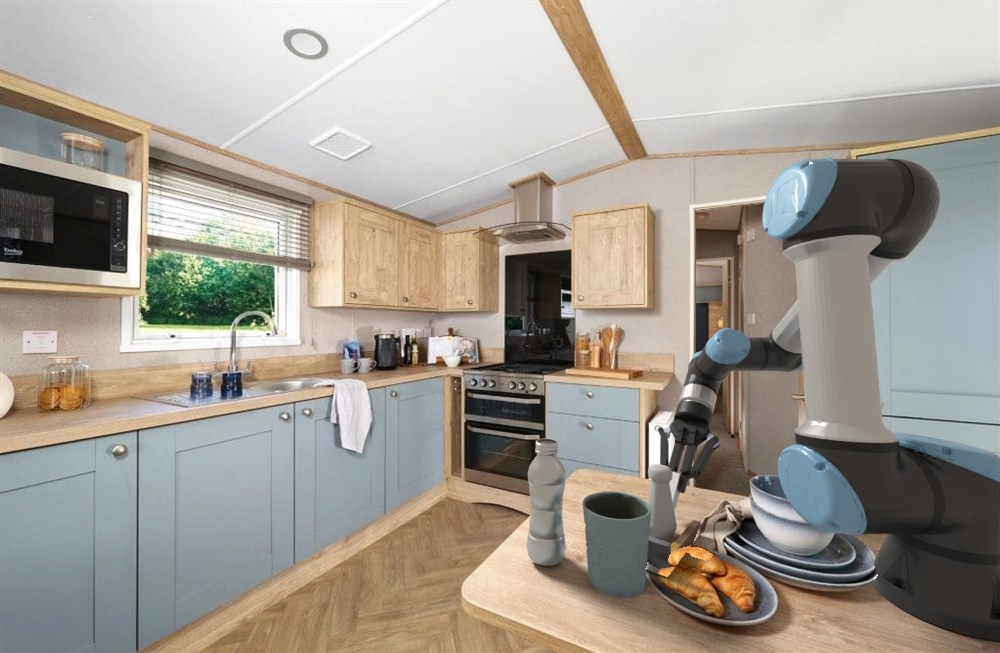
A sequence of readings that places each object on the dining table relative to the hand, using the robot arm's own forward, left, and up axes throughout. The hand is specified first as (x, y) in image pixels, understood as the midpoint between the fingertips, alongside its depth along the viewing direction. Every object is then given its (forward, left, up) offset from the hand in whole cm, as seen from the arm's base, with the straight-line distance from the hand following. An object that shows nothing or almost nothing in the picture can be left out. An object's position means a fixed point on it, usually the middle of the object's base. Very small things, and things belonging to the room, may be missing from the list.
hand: (670, 504), depth 84 cm
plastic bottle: (+11, +27, -4) cm, 30 cm away
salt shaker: (0, +6, -4) cm, 7 cm away
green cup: (0, +25, -4) cm, 25 cm away
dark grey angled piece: (0, +10, -3) cm, 11 cm away
